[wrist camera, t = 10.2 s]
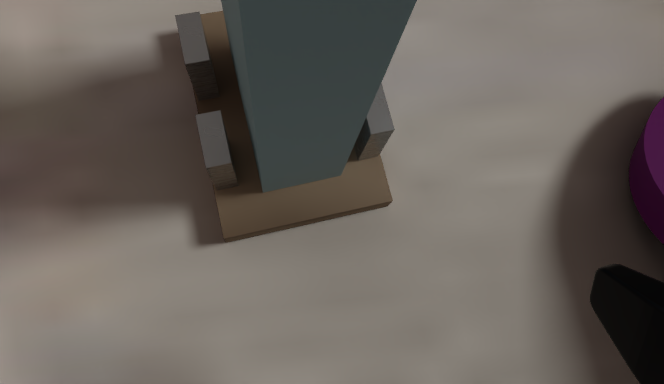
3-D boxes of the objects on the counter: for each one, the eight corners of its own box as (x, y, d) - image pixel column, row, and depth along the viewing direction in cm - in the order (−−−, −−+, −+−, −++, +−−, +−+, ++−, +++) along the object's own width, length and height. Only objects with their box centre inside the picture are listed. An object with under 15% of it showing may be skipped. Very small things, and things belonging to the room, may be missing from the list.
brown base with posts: (387, 206, 21) (411, 180, 17) (226, 242, 20) (213, 224, 16) (333, 6, 23) (344, -58, 19) (183, 31, 22) (162, -31, 18)
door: (340, 175, 20) (471, -126, 6) (262, 192, 20) (227, -93, 6) (302, 28, 21) (343, -483, 8) (228, 41, 21) (133, -477, 7)
